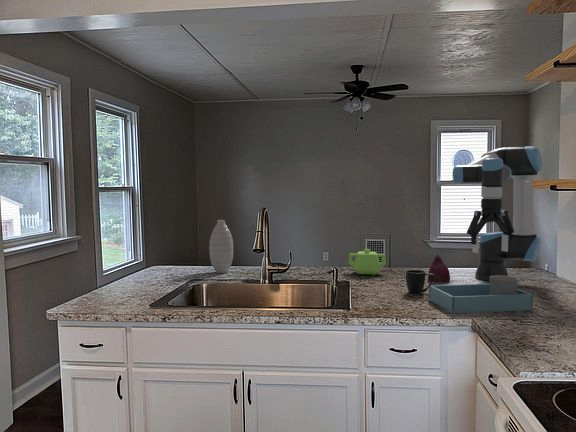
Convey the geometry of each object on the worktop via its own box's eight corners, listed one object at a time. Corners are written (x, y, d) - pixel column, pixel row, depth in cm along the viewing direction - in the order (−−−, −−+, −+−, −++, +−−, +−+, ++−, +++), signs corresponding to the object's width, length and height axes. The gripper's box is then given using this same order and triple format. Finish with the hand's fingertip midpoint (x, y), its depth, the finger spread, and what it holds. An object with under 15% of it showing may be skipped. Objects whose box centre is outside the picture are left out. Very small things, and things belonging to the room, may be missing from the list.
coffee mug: (520, 306, 179) (521, 280, 179) (493, 306, 181) (494, 280, 180) (509, 298, 193) (509, 273, 192) (483, 297, 194) (484, 273, 193)
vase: (236, 270, 260) (236, 219, 258) (228, 275, 248) (228, 221, 246) (215, 269, 263) (214, 219, 261) (206, 274, 251) (205, 221, 249)
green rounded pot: (348, 269, 264) (348, 246, 263) (384, 270, 261) (385, 246, 260) (347, 275, 246) (347, 250, 245) (387, 276, 243) (387, 251, 242)
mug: (432, 296, 200) (433, 274, 199) (404, 294, 205) (404, 272, 204) (435, 292, 208) (435, 270, 207) (407, 290, 212) (407, 269, 212)
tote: (502, 297, 198) (502, 283, 198) (532, 310, 178) (533, 294, 178) (429, 300, 194) (429, 285, 194) (451, 313, 174) (452, 297, 174)
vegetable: (442, 290, 226) (442, 261, 221) (423, 283, 234) (423, 256, 229) (454, 281, 232) (454, 253, 227) (435, 276, 240) (435, 248, 235)
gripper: (511, 197, 193) (509, 249, 194) (458, 198, 186) (456, 251, 188) (525, 198, 185) (523, 251, 187) (470, 198, 179) (468, 254, 180)
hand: (490, 251), depth 187 cm, fingers open, 13 cm apart
